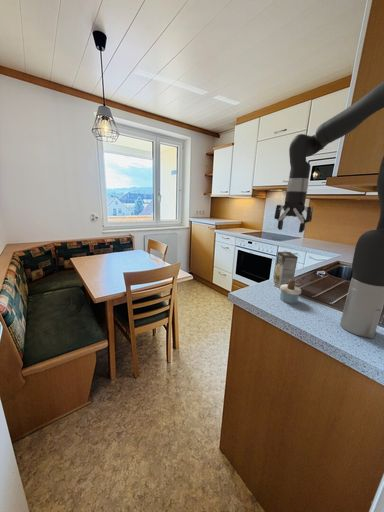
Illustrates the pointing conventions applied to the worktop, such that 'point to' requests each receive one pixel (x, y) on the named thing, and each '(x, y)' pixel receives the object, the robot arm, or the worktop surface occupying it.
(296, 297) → the bowl
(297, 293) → the lid
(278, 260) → the coffee box
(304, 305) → the worktop surface
